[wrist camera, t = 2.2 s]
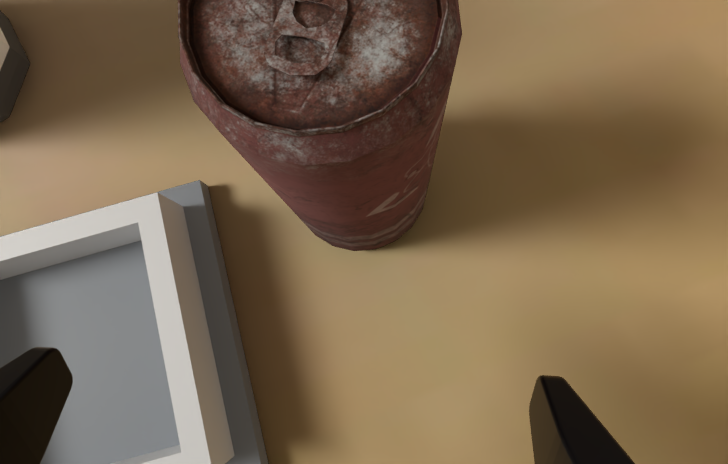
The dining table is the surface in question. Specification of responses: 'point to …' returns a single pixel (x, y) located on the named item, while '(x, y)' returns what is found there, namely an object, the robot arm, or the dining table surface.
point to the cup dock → (135, 332)
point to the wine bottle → (10, 67)
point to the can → (328, 102)
